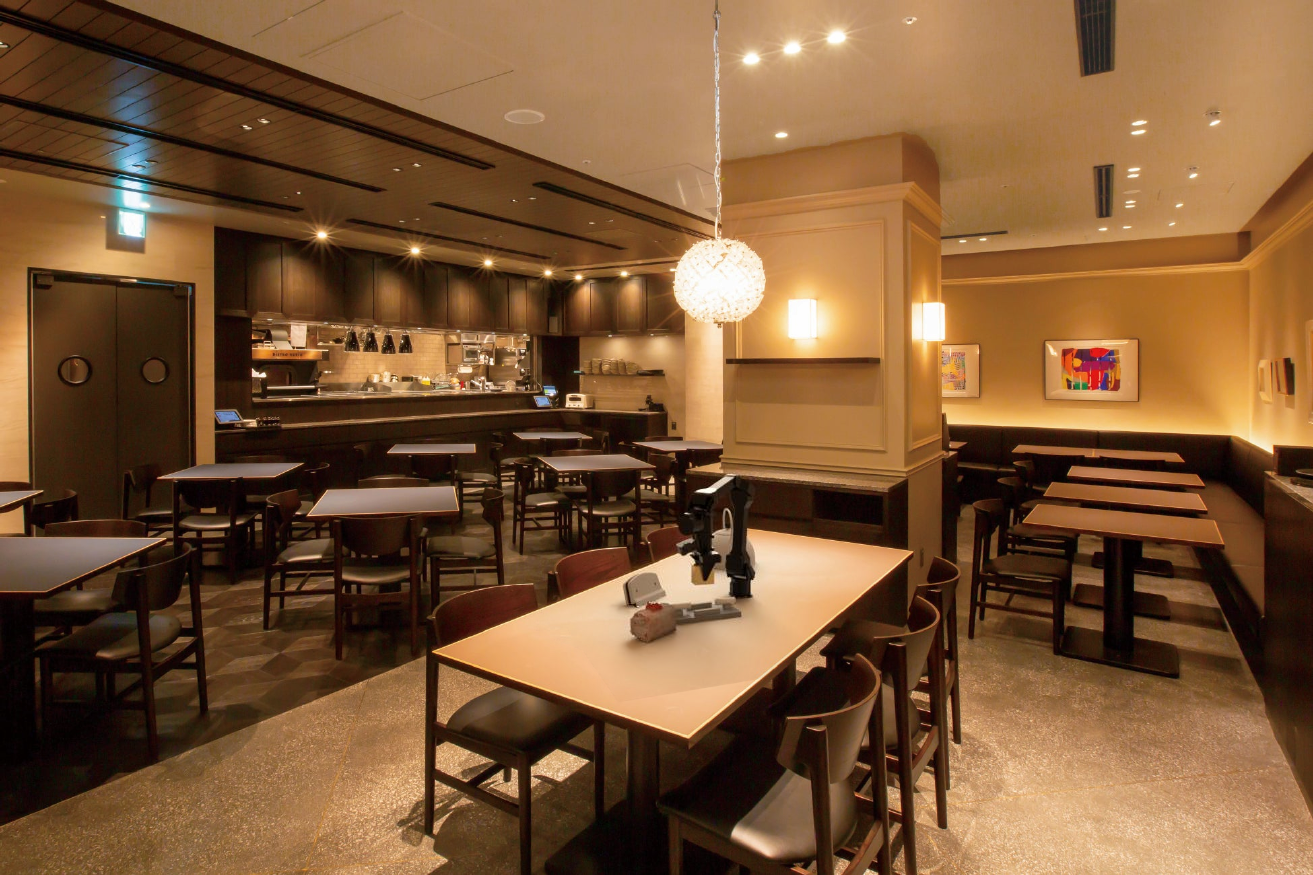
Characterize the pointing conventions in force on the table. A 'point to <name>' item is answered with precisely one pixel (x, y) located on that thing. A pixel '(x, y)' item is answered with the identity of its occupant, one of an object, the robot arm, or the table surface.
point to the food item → (653, 621)
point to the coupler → (700, 575)
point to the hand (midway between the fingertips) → (702, 579)
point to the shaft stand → (705, 611)
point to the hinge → (642, 589)
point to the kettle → (728, 542)
